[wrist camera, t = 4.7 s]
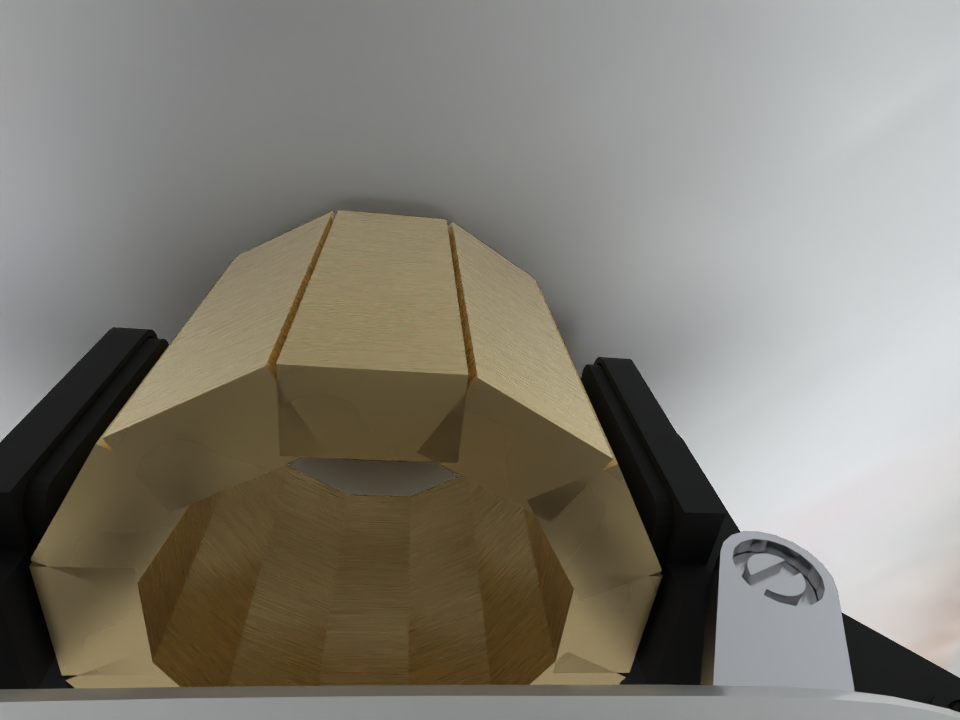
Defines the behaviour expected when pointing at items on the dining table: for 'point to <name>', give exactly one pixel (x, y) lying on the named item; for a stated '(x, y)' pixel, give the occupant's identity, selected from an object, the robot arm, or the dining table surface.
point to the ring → (353, 518)
